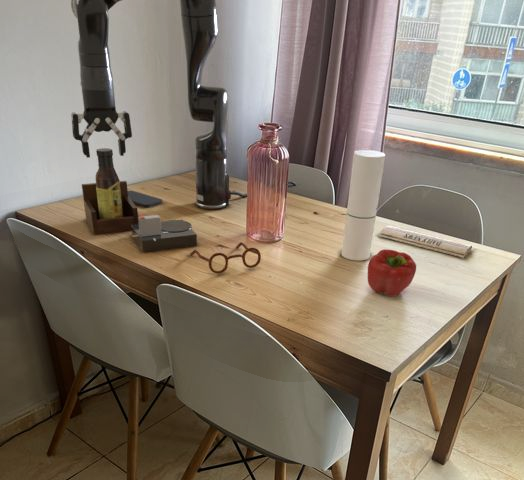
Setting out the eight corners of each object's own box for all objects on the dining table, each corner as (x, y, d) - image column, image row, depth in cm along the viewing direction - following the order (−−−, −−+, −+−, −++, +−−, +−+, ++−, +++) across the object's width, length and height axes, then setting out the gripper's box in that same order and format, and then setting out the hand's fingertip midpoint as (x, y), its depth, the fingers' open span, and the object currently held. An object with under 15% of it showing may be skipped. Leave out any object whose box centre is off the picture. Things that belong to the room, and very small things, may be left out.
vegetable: (420, 302, 118) (429, 259, 113) (375, 305, 116) (383, 261, 111) (399, 280, 127) (407, 240, 122) (357, 283, 125) (363, 241, 120)
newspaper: (471, 250, 146) (472, 243, 145) (463, 258, 141) (464, 251, 140) (388, 229, 156) (390, 223, 155) (378, 236, 151) (379, 230, 150)
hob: (182, 230, 150) (182, 218, 148) (198, 247, 140) (198, 235, 138) (125, 236, 144) (124, 224, 142) (137, 254, 134) (136, 242, 132)
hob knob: (159, 231, 139) (157, 213, 136) (161, 234, 138) (160, 216, 135) (139, 234, 137) (138, 215, 135) (141, 236, 136) (140, 218, 133)
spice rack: (128, 215, 158) (125, 180, 152) (139, 229, 148) (136, 192, 143) (86, 219, 153) (81, 184, 148) (94, 234, 144) (89, 196, 139)
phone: (130, 190, 175) (164, 199, 168) (131, 192, 176) (164, 202, 168) (112, 195, 170) (146, 205, 163) (113, 197, 171) (146, 208, 163)
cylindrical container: (371, 252, 141) (387, 152, 128) (366, 262, 136) (382, 158, 122) (344, 247, 143) (357, 148, 130) (338, 257, 137) (351, 154, 124)
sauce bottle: (120, 229, 148) (112, 153, 137) (97, 228, 148) (88, 152, 137) (126, 221, 154) (119, 147, 143) (104, 220, 154) (95, 146, 143)
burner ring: (185, 219, 148) (185, 218, 148) (196, 229, 141) (196, 229, 141) (153, 222, 145) (153, 221, 145) (162, 233, 138) (162, 233, 138)
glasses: (210, 276, 125) (209, 256, 122) (189, 255, 135) (188, 236, 132) (261, 267, 130) (262, 247, 128) (237, 248, 140) (238, 229, 137)
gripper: (69, 89, 127) (78, 161, 135) (130, 88, 132) (136, 157, 141) (64, 85, 132) (74, 154, 141) (123, 84, 138) (129, 151, 146)
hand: (105, 156), depth 141 cm, fingers open, 8 cm apart
